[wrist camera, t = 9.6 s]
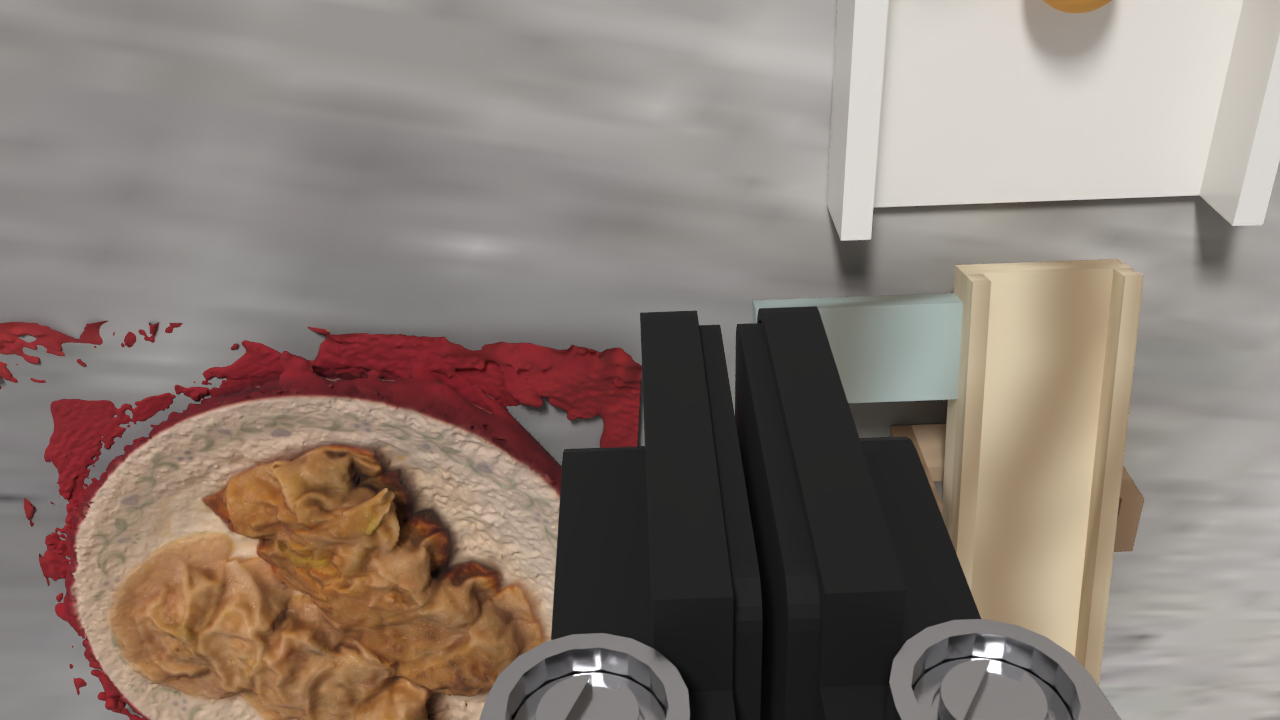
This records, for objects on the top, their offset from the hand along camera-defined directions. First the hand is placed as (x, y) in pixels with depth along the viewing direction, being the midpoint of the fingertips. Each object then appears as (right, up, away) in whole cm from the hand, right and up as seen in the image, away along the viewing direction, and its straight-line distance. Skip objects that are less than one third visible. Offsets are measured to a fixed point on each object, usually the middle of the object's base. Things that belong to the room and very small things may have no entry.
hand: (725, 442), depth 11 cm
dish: (+13, +12, +27) cm, 32 cm away
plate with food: (-14, -9, +40) cm, 43 cm away
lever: (+10, -5, +32) cm, 34 cm away
